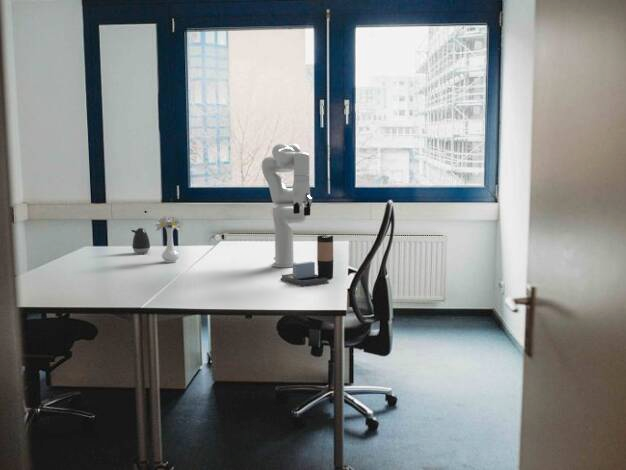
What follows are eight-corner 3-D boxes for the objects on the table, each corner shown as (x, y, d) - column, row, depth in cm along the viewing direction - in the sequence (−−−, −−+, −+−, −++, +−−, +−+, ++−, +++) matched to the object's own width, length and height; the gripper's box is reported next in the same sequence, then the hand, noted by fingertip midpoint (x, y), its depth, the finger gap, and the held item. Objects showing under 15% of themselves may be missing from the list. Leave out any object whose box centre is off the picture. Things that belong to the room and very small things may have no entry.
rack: (280, 279, 323) (280, 274, 323) (305, 276, 331) (305, 270, 330) (302, 286, 307) (302, 281, 306) (328, 283, 314) (328, 277, 314)
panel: (293, 280, 317) (292, 263, 316) (311, 278, 323) (311, 261, 322) (296, 281, 315) (296, 264, 314) (314, 279, 320) (314, 262, 319)
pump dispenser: (130, 252, 407) (129, 227, 405) (148, 251, 411) (147, 226, 409) (134, 255, 398) (132, 229, 396) (152, 254, 402) (151, 228, 400)
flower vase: (185, 258, 384) (184, 214, 381) (178, 264, 366) (176, 218, 363) (162, 258, 385) (161, 214, 382) (154, 264, 367) (152, 218, 363)
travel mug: (320, 279, 322) (319, 237, 320) (315, 276, 330) (315, 235, 327) (335, 278, 324) (335, 236, 322) (330, 275, 332) (330, 234, 329)
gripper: (285, 178, 332) (286, 213, 334) (304, 180, 317) (304, 216, 320) (299, 177, 336) (299, 212, 338) (317, 179, 321) (318, 215, 324)
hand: (301, 214), depth 329 cm, fingers open, 9 cm apart
